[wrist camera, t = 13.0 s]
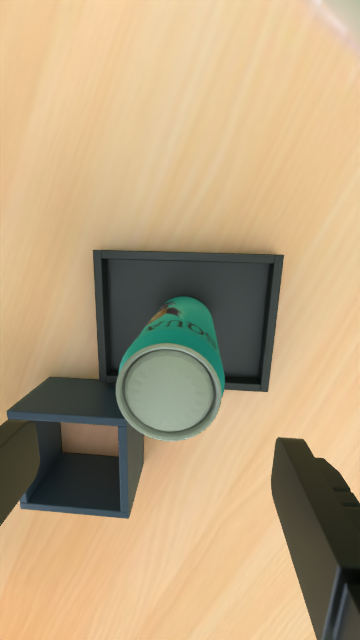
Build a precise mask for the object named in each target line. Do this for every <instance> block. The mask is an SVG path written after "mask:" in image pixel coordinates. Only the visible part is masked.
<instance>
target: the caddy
mask: <svg viewBox="0 0 360 640" xmlns="http://www.w3.org/2000/svg"><path fill="white" fill-rule="evenodd" d="M7 417H8V420H26V421H33V422H34V423H35V425H36V430H37V438H38V447H39V455H40V465H39V470H38V473H37V475H36V477H35V479H34V481H33V482H32V484H31V485H30V486H29V488H28V489H27V490H26V492H25V493H24V494H23V496H22V497H21V499H20V507H21V509H30V510H41V511H51V512H62V513H73V514H84V515H95V516H106V517H116V518H127V519H128V518H129V516H130V512H131V509H132V505H133V501H134V498H135V494H136V490H137V487H138V483H139V479H140V475H141V472H142V468H143V464H144V442H143V434H142V433H140V432H139V431H137V430H136V429H135V428H134V427H132V426H131V425H130V424H129V423H128V422H127V420H126V419H125V418H124V416H123V415H122V413H121V411H120V409H119V406H118V403H117V399H116V383H107V382H100V381H99V380H94V379H77V378H60V377H49V378H47V379H46V380H45V381H44V382H42V383H41V384H40V385H39V386H37V387H36V388H35V389H34V390H32V391H31V392H30V393H29V394H27V395H26V396H25V397H24V398H22V399H21V400H20V401H19V402H17V403H16V404H15V405H14V406H12V407H11V408H10V409H9V410H7ZM60 422H68V423H82V424H96V425H111V426H118V440H119V457H113V456H100V455H87V454H75V453H62V441H61V430H60Z"/></svg>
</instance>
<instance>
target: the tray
mask: <svg viewBox="0 0 360 640" xmlns="http://www.w3.org/2000/svg"><path fill="white" fill-rule="evenodd" d="M283 258H284V255H272V254H234V253H196V252H158V251H120V250H93V259H94V280H95V300H96V320H97V340H98V361H99V381H100V382H107V383H116V382H117V377H118V375H119V367H120V363H121V361H122V358H123V356H124V354H125V353H126V351H127V350H128V348H129V347H130V346H131V344H132V343H133V342H134V341H135V339H136V338H137V337H138V335H139V334H140V333H141V332H142V330H143V329H144V328H145V326H146V325H147V324H148V322H149V321H150V320H151V319H152V317H153V316H154V315H155V313H156V312H157V311H158V310H159V308H160V307H161V306H162V305H163V304H164V303H165V302H167V301H168V300H170V299H173V298H176V297H183V296H184V297H191V298H194V299H196V300H198V301H200V302H201V303H203V304H204V305H205V306H206V307H207V309H208V310H209V312H210V314H211V316H212V320H213V324H214V329H215V333H216V338H217V343H218V347H219V352H220V356H221V361H222V365H223V370H224V375H225V386H224V389H225V390H242V391H259V392H268V387H269V379H270V370H271V361H272V353H273V344H274V336H275V327H276V318H277V310H278V301H279V292H280V284H281V275H282V267H283Z"/></svg>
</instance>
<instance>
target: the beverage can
mask: <svg viewBox="0 0 360 640" xmlns="http://www.w3.org/2000/svg"><path fill="white" fill-rule="evenodd" d="M224 386H225V375H224V370H223V365H222V361H221V356H220V352H219V347H218V343H217V338H216V333H215V329H214V324H213V320H212V316H211V314H210V312H209V310H208V309H207V307H206V306H205V305H204V304H203V303H201V302H200V301H198V300H196V299H194V298H191V297H184V296H183V297H176V298H173V299H170V300H168V301H167V302H165V303H164V304H163V305H162V306H161V307H160V308H159V310H158V311H157V312H156V313H155V315H154V316H153V317H152V319H151V320H150V321H149V322H148V324H147V325H146V326H145V328H144V329H143V330H142V332H141V333H140V334H139V335H138V337H137V338H136V339H135V341H134V342H133V343H132V344H131V346H130V347H129V348H128V350H127V351H126V353H125V354H124V356H123V358H122V361H121V363H120V367H119V375H118V377H117V382H116V399H117V403H118V406H119V409H120V411H121V413H122V415H123V416H124V418H125V419H126V420H127V422H128V423H129V424H130V425H131V426H132V427H134V428H135V429H136V430H137V431H139V432H140V433H142V434H144V435H146V436H148V437H151V438H153V439H157V440H162V441H180V440H185V439H188V438H191V437H193V436H195V435H198V434H199V433H201V432H202V431H204V430H205V429H206V428H207V427H208V426H209V425H210V424H211V423H212V421H213V420H214V419H215V417H216V415H217V413H218V410H219V407H220V404H221V398H222V395H223V392H224Z"/></svg>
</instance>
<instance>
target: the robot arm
mask: <svg viewBox="0 0 360 640" xmlns="http://www.w3.org/2000/svg"><path fill="white" fill-rule="evenodd" d="M39 465H40V455H39V447H38V438H37V430H36V425H35V423H34V422H33V421H26V420H7V421H5V422H4V423H3V424H2V425H1V426H0V526H1V524H2V523H3V522H4V520H5V519H6V518H7V516H8V515H9V513H10V512H11V511H12V509H13V508H14V507H15V505H16V504H17V503H18V501H19V500H20V499H21V497H22V496H23V494H24V493H25V492H26V490H27V489H28V488H29V486H30V485H31V484H32V482H33V481H34V479H35V477H36V475H37V473H38V470H39ZM271 489H272V496H273V500H274V503H275V507H276V510H277V513H278V516H279V519H280V523H281V526H282V529H283V532H284V535H285V539H286V542H287V545H288V548H289V551H290V555H291V558H292V561H293V564H294V568H295V571H296V574H297V577H298V580H299V584H300V587H301V590H302V593H303V596H304V600H305V603H306V606H307V609H308V612H309V616H310V619H311V622H312V625H313V628H314V632H315V635H316V638H317V640H360V503H359V501H358V500H357V498H356V497H355V495H354V494H353V493H351V491H350V488H349V486H348V485H347V483H346V482H345V480H344V479H343V477H342V476H341V474H340V473H339V472H338V471H337V470H336V469H335V468H334V467H333V466H331V465H330V464H329V463H328V462H327V461H326V460H325V459H324V458H315V457H314V456H313V454H312V452H311V450H310V449H309V447H308V445H307V444H306V442H305V441H304V440H303V439H296V438H280V437H278V438H277V440H276V444H275V451H274V459H273V467H272V475H271Z"/></svg>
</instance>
